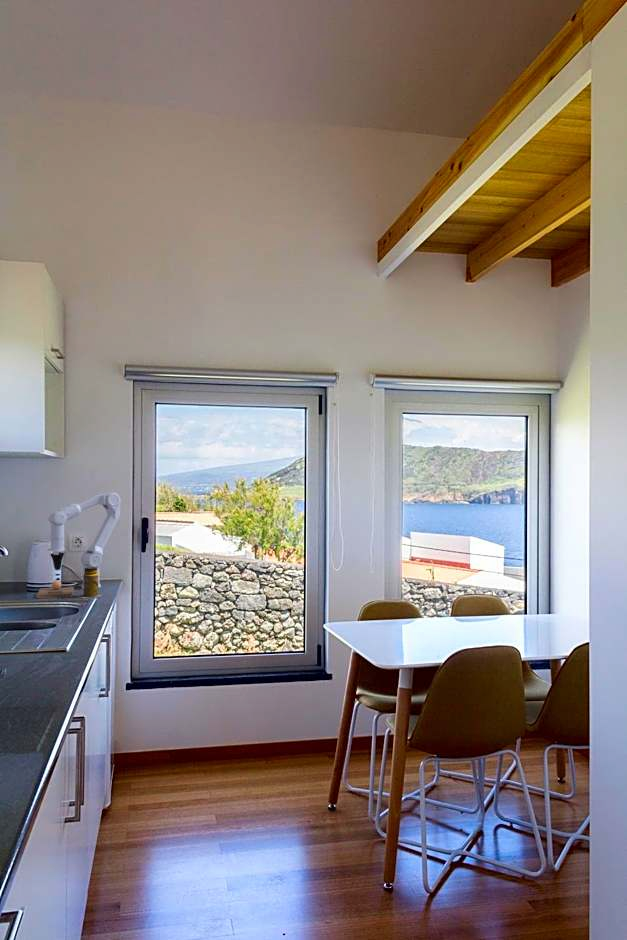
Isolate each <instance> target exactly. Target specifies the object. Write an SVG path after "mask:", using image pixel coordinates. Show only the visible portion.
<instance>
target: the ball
mask: <svg viewBox="0 0 627 940" xmlns="http://www.w3.org/2000/svg"><path fill="white" fill-rule="evenodd" d="M51 588H53V589H55V590H57V589H60V588H62V582H61V580H57V579H55V580H53V581H52V582H51Z"/></svg>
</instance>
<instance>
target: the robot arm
mask: <svg viewBox="0 0 627 940" xmlns="http://www.w3.org/2000/svg"><path fill="white" fill-rule="evenodd" d="M121 504H122V499H121V497H120V495H119V493H117V492H108V491H107V492H106V491H105V492H102V493H99V494H96V495H94V496H92V497H91V498H88V499H86V500H85V501H83V502H80V503H79V504H77V503H71V502H69V503H68V505H66V506H65V507H63V508H61V507H60V508H58V510H57V511H56V510H55V511H54V510H53V511H52V512H51V513H50V514H49V517H48V518H47V519H48V521H49V523H50V548H48V549H47V551H49V552H52V553H50V557H51V559H52V562H53V567H54V570H56V571H59V570H61V568H62V561H63V557H64V556H65V552H64V551H65V550H66V547H65V523H66V522H67V521H69V520H72V519H73V518H76V517H79V516H80V515H81V512H83V511H84V510H87V509H90V508H92V507H94V506H97V505H102V507H103V508H104V509H105V511H106V517H105V519H104V521H103V523H102V524H101V526H100V528H99V530H98V532H97V533H96V534H97V535H96V536H95V538H94V540H93V542H92V544H91V545H90V546H89V547H88V548H87V550H86V551H85V552H84V553H83V554H82V555H81V556H80V557H81V558H80V561H81V563H82V565H83V566H82V585H81V589H82V590H84V574H85V573H84V571H85V570H84V569H85V568H87V567H96V568H97V574H98V589H101V586H102V585H101V583H100V581H101V580H100V576H101V575H100V571H101V570H100V566H101V564H102V560H103V559H102V558H103V555H104V552H103V551H104V548H105V546H106V544H107V542H108V540H109V538H110V536H111V535H112V532H113V530H114V528H115V527H116V524H117V522H118V520H119V518H120V516H121Z"/></svg>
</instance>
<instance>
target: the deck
mask: <svg viewBox="0 0 627 940" xmlns="http://www.w3.org/2000/svg"><path fill="white" fill-rule="evenodd" d="M74 592H75V587H71V586H70V587H69V586H68V587H60V589H57V590H55V589H53V588H52V587H45V588H40V589H39V590H38V592H37V593H36V595H35V599H36V598H42V599H62V598H63V599H64V598H66V599H67V598H68V599H69V598H72V596H73V594H74Z"/></svg>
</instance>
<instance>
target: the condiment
mask: <svg viewBox="0 0 627 940" xmlns="http://www.w3.org/2000/svg"><path fill="white" fill-rule="evenodd" d="M84 570H85V571H84V573H85V574H84V589H83V594H81V595H80V594H76V595H75V597H78V598H80V599H82V598H83V599H87V598H96V597H97V598H98V597H102V595H100V594H99V588H98V574H97V568H96V567H87V568H85V569H84Z"/></svg>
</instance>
